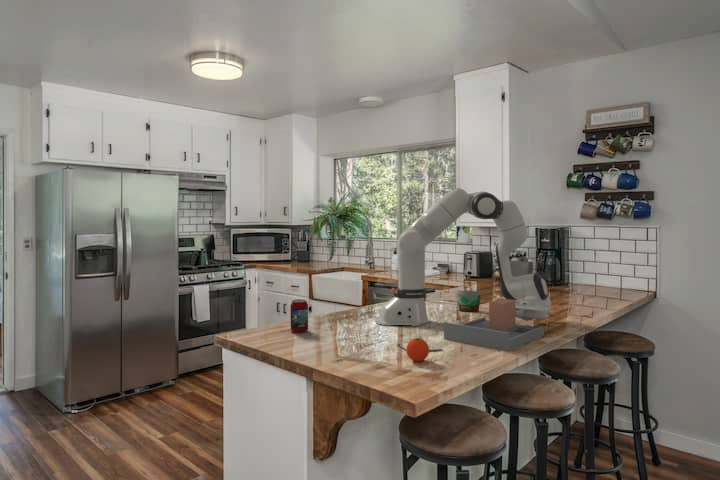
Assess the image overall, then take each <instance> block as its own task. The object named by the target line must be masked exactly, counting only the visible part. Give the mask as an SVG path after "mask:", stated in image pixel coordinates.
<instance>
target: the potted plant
mask: <svg viewBox="0 0 720 480" xmlns="http://www.w3.org/2000/svg"><path fill="white" fill-rule="evenodd" d="M455 294H456V295H457V306H458V311H459V312H463V313H479V311H480V306H481V297H482V295H483V291H482V290H481V289H480V290H461V289H456V291H455Z"/></svg>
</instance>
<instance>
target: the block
mask: <svg viewBox="0 0 720 480" xmlns="http://www.w3.org/2000/svg"><path fill="white" fill-rule="evenodd" d="M488 312H489V313H488V314H489V317H488V320H489V329H493V330H499V331H505V330H507V329H510V328H513V327H515V325H516V318H517V317H516V300H508V299H506V298H499V299H496V300H492V301H489V311H488Z"/></svg>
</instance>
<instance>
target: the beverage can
mask: <svg viewBox="0 0 720 480" xmlns="http://www.w3.org/2000/svg"><path fill="white" fill-rule="evenodd" d="M308 330H309V304H308V301H307V299H300V298H299V299H293V300H292V301H291V303H290V331H292V332H293V333H295V334H301V333H305V332H307V331H308Z"/></svg>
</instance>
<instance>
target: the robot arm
mask: <svg viewBox="0 0 720 480" xmlns="http://www.w3.org/2000/svg"><path fill="white" fill-rule="evenodd" d="M464 214H470V215H471V216H473V217H475V218H477V219H481V220H493V222H494V224H495V225H496V229H497V231H498V235H499V236H498V239H499V240H498V242H497V243H496V245H495V256H496V262H497V269H498V273H499V274H498V275H499V280H500V281H499V282H500V292H501V295H502V297H503V299H508V300H516V318H518V319H520V320H524V321H526V322H528V321H533V320H535V319H538V320H546V319H548V318H549V315H551V314H553V311H552V310H551V309H552V301H551V299H550V298H549V286H548V283H547V281H546V279H545V278H544V277H543V275H541V274H539V273H537V272H533V274H528V275H523V276H518V277H513V276H512V274H511V268H510V262H509V261H510V255H511V254H512V253H513V252H514V251H516V250H517V249H518V248H520V247H521V246H522V245H523V244H524V243H525V242H526V241H527V239H528V234H529V233H528V229H527V225H526V223H525V220H524V217H523V215H522V212H521V211H520V208H519V206H518V205H517V204H516V203H515V202H514V201H512V200H502V201H501V200H500V199H499V198H498V197H496V196H495V195H494V194H493V193H490V192H487V191H478V192H473V193H468V192H467V191H466V190H465V189H462V188H461V187H460V188H459V187H456V188H453V189H452V190H450V191H449V192H447V193H445V194H444V195H443V196H441V197H440V198H439V199H438V200H437V201H436V202H435V203H434V204H432V205H431V206H429V208H428V209H427V210H426V211H425V212H424V213H422V215H421V216H419V218H417V219H416V220H415V221H414V222H413V223H412V224H411V225H410V226H409V227H407V229H404V231H402V232H401V233H400V235H399V236H398V239H397V262H398V268H397V269H398V287H397V288H395V287H392V288H391V293H393V297H391V299H389V300H388V301H387V302H386V303H385V302H384V304H383V305H382V306H381V309H380V314H379V316H377V317H375V318H374V322H375V321H376V322H377V323H379V324H383V325H382V326H391V325H412V326H411V327H418V326H420V325H423V324H427V323H428V322H429V318H428V313H427V308H426V307H427V306H426V301H427V288H426V286H425V285H426V284H425V283H426V281H425V280H426V278H425V277H426V274H425V273H426V271H425V270H426V255H425V254H426V247H427V246H428V245H429V244H430V243H432V242H433V241H434V240H436V238H437V237H439V236H440V235H442V234H443V232H444V231H446V230H447V229H448V228H449V227H450V226H451V225H452V224H453V223H455V221H457V220H458V219H459V218H460V217H461V216H463V215H464ZM376 322H375V323H376ZM377 323H376V324H377ZM379 324H378V325H379Z"/></svg>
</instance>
